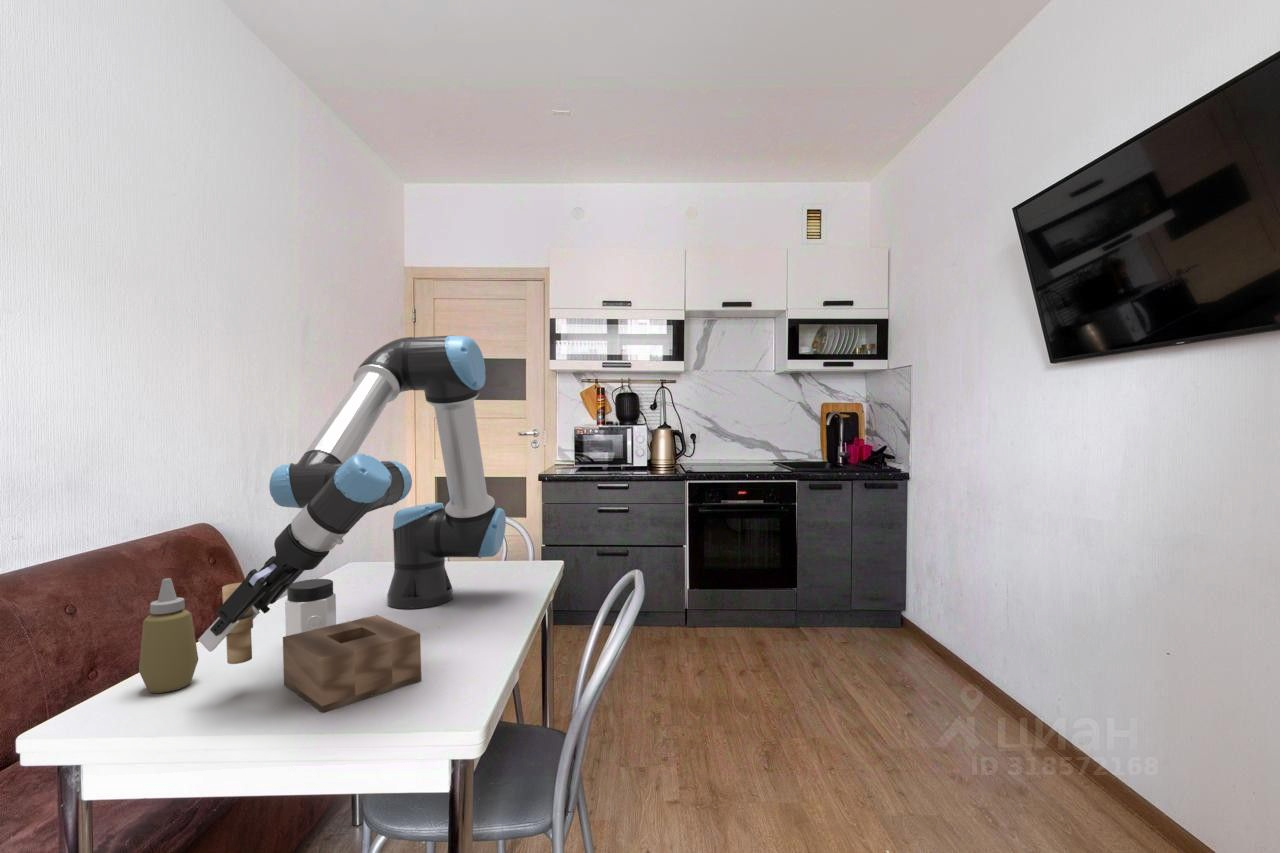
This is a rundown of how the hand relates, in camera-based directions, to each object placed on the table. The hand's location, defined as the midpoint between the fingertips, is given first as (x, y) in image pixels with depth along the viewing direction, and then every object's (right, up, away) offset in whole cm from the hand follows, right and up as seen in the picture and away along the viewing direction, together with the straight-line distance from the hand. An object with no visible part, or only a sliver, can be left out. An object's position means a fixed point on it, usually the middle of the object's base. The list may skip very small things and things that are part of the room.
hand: (217, 639), depth 106 cm
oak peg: (+4, -3, 0) cm, 5 cm away
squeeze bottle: (-10, -9, +4) cm, 14 cm away
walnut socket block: (+20, -8, +4) cm, 22 cm away
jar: (+3, -9, +24) cm, 26 cm away
